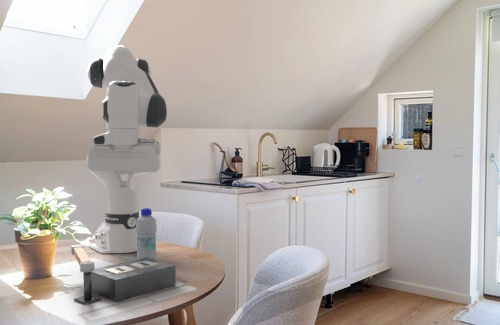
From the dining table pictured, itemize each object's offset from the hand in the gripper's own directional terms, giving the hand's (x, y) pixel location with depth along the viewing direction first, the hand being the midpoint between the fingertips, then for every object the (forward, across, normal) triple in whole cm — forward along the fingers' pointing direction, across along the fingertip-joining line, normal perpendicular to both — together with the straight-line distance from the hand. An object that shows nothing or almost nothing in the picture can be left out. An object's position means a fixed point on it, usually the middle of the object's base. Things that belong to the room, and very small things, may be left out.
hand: (124, 187), depth 146 cm
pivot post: (+29, +6, +13) cm, 32 cm away
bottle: (+30, -1, -18) cm, 35 cm away
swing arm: (+21, +11, +4) cm, 24 cm away
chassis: (+29, -3, +2) cm, 29 cm away
